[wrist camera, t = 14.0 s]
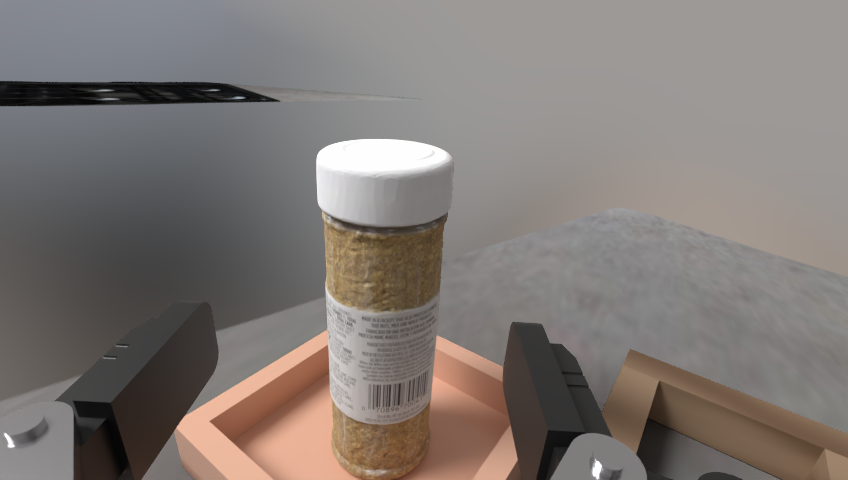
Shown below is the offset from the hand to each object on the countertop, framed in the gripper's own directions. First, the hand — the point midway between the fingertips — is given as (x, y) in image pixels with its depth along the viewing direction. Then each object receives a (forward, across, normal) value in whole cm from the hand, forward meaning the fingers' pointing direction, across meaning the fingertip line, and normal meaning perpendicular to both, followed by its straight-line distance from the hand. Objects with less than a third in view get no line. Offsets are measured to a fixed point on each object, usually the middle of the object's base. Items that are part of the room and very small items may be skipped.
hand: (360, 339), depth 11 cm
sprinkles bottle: (+5, 0, +10) cm, 11 cm away
